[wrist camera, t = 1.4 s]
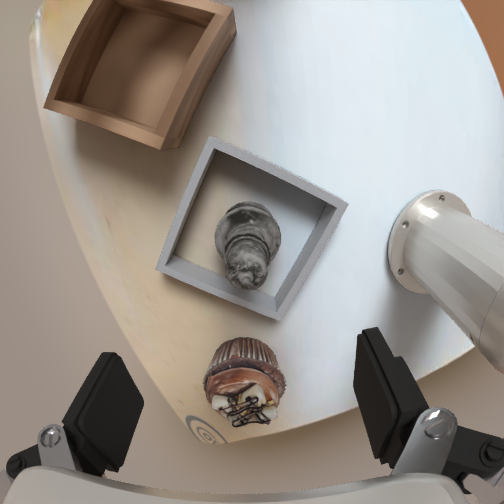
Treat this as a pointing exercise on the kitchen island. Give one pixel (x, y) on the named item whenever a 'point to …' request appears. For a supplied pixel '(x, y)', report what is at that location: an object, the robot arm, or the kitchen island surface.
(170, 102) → the walnut bin
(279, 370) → the cupcake
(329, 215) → the grey frame
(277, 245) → the grey chess piece
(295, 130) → the kitchen island surface
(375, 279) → the kitchen island surface
